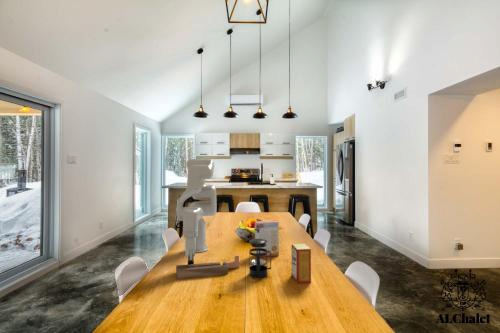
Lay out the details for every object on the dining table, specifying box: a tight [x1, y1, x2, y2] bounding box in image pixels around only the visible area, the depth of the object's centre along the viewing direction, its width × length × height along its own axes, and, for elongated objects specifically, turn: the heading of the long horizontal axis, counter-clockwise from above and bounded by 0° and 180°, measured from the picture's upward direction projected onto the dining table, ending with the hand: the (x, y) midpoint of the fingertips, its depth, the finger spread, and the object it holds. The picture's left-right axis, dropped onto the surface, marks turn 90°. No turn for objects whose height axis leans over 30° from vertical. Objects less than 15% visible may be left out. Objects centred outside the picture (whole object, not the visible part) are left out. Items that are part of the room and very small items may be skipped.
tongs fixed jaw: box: [176, 261, 229, 280], centre depth 131 cm, size 4×25×5 cm, turn 105°
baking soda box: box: [291, 242, 312, 284], centre depth 126 cm, size 10×6×16 cm
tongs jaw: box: [175, 261, 221, 276], centre depth 134 cm, size 2×22×4 cm, turn 102°
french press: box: [248, 228, 272, 279], centre depth 131 cm, size 12×9×23 cm
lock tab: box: [226, 254, 240, 269], centre depth 140 cm, size 2×7×6 cm, turn 105°
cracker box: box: [254, 219, 280, 258], centre depth 161 cm, size 14×6×21 cm, turn 100°
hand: (190, 268), depth 136 cm, fingers closed
